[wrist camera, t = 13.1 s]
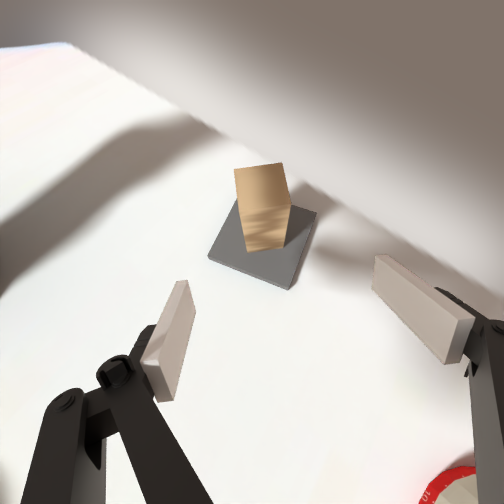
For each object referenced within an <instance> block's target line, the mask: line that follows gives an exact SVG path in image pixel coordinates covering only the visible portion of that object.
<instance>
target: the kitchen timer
mask: <svg viewBox="0 0 504 504" xmlns="http://www.w3.org/2000/svg"><path fill="white" fill-rule="evenodd" d="M419 504H478V492H477V479H476V467H467V466H460V467H457V468H453V469H450V470H447V471H444V472H442V473H441V474H440V475H439V476H438V477H436V478H435V479H434V480H433V481H432V482H431V483H429V484H428V486H427V488H426V490H425V492H424V494H423V496H422V498H421V499H420V501H419Z"/></svg>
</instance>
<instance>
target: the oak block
mask: <svg viewBox="0 0 504 504" xmlns="http://www.w3.org/2000/svg"><path fill="white" fill-rule="evenodd" d="M234 175H235V183H236V192H237V200H238V208H239V214H240V219H241V224H242V229H243V234H244V239H245V244H246V248H247V253H250V252H258V251H265V250H272V249H280V248H283V246H284V241H285V235H286V230H287V224H288V219H289V213H290V208H291V201H290V196H289V191H288V187H287V182H286V178H285V173H284V169H283V164H282V163H275V164H268V165H261V166H253V167H246V168H239V169H234Z"/></svg>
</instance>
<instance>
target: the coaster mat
mask: <svg viewBox="0 0 504 504" xmlns="http://www.w3.org/2000/svg"><path fill="white" fill-rule="evenodd" d="M316 214H317V213H316V212H313V211H309V210H306V209H303V208H300V207H297V206H294V205H291V208H290V213H289V219H288V224H287V230H286V235H285V241H284V246H283V248H280V249H272V250H265V251H258V252H250V253H247V248H246V244H245V239H244V234H243V229H242V224H241V219H240V214H239V208H238V200H237V199H236V201H235V203H234V205H233V207H232V209H231V211H230V213H229V215H228V217H227V219H226V221H225V223H224V225H223V226H222V228H221V230H220V232H219V234H218V236H217V238H216V240H215V242H214V244H213V246H212V248H211V250H210V251H209V253H208V255H207V256H208V258H209V259H210V260H213V261H215V262H218V263H220V264H223V265H225V266H228V267H230V268H233V269H235V270H238V271H240V272H243V273H245V274H248V275H250V276H253V277H255V278H258V279H260V280H263V281H265V282H268V283H270V284H273V285H275V286H278V287H280V288H283V289H285V290H288V289H289V287H290V284H291V281H292V279H293V276H294V273H295V270H296V268H297V265H298V262H299V260H300V257H301V254H302V252H303V249H304V246H305V244H306V241H307V238H308V236H309V233H310V230H311V228H312V225H313V222H314V220H315V217H316Z"/></svg>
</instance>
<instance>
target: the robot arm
mask: <svg viewBox="0 0 504 504" xmlns="http://www.w3.org/2000/svg"><path fill="white" fill-rule="evenodd" d="M372 290H373V291H374V292H375V293H376V294H377V295H378V296H379V297H380V298H381V299H382V300H383V301H384V303H385V304H386V305H387V306H388V307H389V308H390V309H391V310H392V311H393V312H394V313H395V314H396V315H397V316H398V317H399V318H400V319H401V320H402V321H403V322H404V323H405V324H406V326H407V327H408V328H409V329H410V330H411V331H412V332H413V333H414V334H415V335H416V336H417V337H418V338H419V339H420V340H421V341H422V342H423V343H424V344H425V345H426V346H427V347H428V349H429V350H430V351H431V352H432V353H433V354H434V355H435V356H436V357H437V358H438V359H439V360H440V361H441V362H442V363H443V364H444V365H446V364H453V363H460V360H461V358H462V355H463V353H464V354H465V355H466V356H467V357H468V358H469V359H470V361H469V364H468V366H467V369H466V372H465V375H464V377H467V376H468V374H469V384H470V397H471V411H472V425H473V438H474V452H475V465H476V479H477V492H478V504H504V321H500V320H489V319H487V318H486V317H485V316H483V315H482V314H480V313H479V312H477V311H476V310H474V309H473V308H471V307H470V306H468V305H467V304H465V303H463V302H462V301H461V300H460V299H457V298H456V297H455V296H454V295H452V294H451V293H449V292H448V291H445V290H443V289H440V288H438V287H434V288H433V287H432V286H430V285H429V284H428V283H426V282H425V281H423V280H422V279H421V278H419V277H418V276H416V275H415V274H414V273H412V272H411V271H409V270H408V269H406V268H405V267H404V266H402V265H401V264H399V263H398V262H397V261H395V260H394V259H392V258H391V257H390V256H388V255H387V254H384V255H376V256H375V263H374V271H373V280H372ZM195 314H196V310H195V306H194V302H193V299H192V295H191V291H190V287H189V284H188V280H183V281H176V283H175V286H174V288H173V290H172V292H171V294H170V297H169V299H168V301H167V303H166V305H165V307H164V310H163V312H162V314H161V316H160V318H159V321H158V323H157V324H155V325H148V326H147V327H146V328H145V329H144V330H143V331H142V332H141V333H140V335H139V337H138V339H137V341H136V343H135V345H134V348H132V350H131V352H130V354H129V356H127V355H117V356H114V357H112V358H110V359H109V360H107V361H106V362H104V363H103V364H102V365H101V366H100V367H99V369H98V371H97V373H96V378H97V380H98V382H99V384H100V386H101V387H100V388H98V389H95V390H93V391H90V392H88V393H84V392H83V390H82V389H80V388H72V389H69V390H67V391H65V392H63V393H61V394H60V395H59V396H57V397H56V398H55V399H54V400H53V401H52V402H51V403H50V404H49V405H48V407H47V409H46V411H45V413H44V417H43V421H42V424H41V428H40V432H39V436H38V439H37V443H36V447H35V451H34V454H33V458H32V462H31V466H30V469H29V473H28V477H27V481H26V484H25V488H24V492H23V496H22V499H21V503H20V504H105V500H106V437H109V436H111V435H113V434H115V433H117V432H119V433H120V435H121V438H122V441H123V443H124V446H125V448H126V451H127V454H128V456H129V459H130V462H131V464H132V467H133V470H134V472H135V475H136V477H137V480H138V483H139V485H140V488H141V491H142V493H143V496H144V498H145V501H146V504H213V502H212V500H211V498H210V497H209V495H208V493H207V492H206V490H205V488H204V486H203V485H202V483H201V481H200V480H199V478H198V476H197V474H196V473H195V471H194V469H193V468H192V466H191V464H190V462H189V461H188V459H187V457H186V456H185V454H184V452H183V450H182V449H181V447H180V445H179V444H178V442H177V440H176V439H175V437H174V435H173V433H172V432H171V430H170V428H169V427H168V425H167V423H166V421H165V420H164V418H163V416H162V415H161V413H160V411H159V409H158V408H157V406H156V404H155V403H154V401H153V397H154V396H155V398H156V400H157V402H158V403H159V402H167V401H174V397H175V393H176V389H177V385H178V381H179V377H180V373H181V369H182V365H183V361H184V357H185V353H186V349H187V345H188V341H189V337H190V334H191V330H192V326H193V322H194V318H195Z"/></svg>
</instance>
